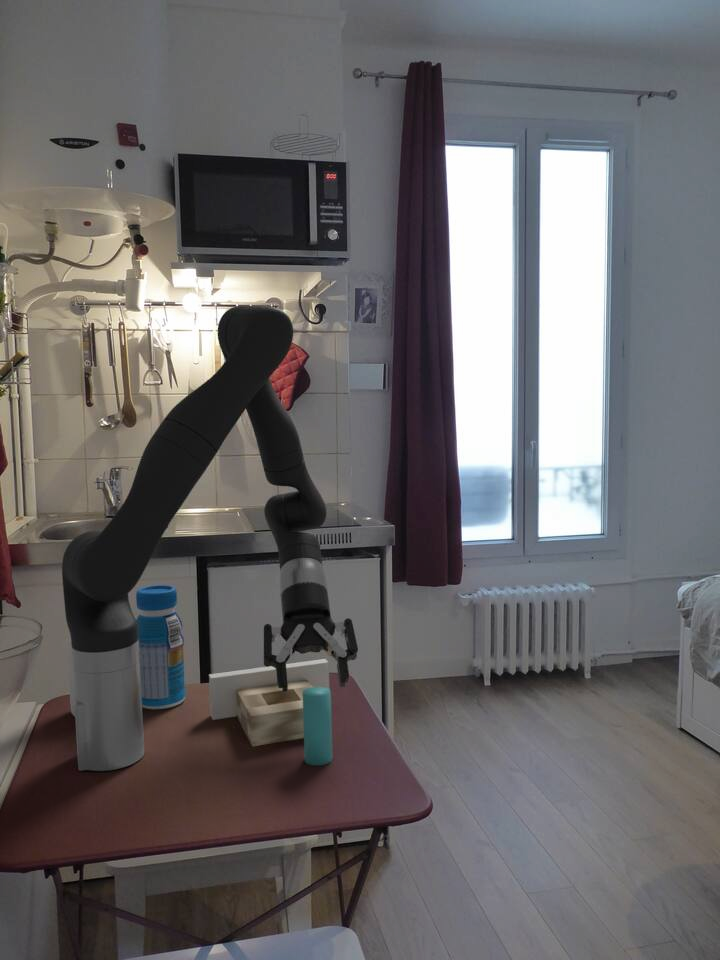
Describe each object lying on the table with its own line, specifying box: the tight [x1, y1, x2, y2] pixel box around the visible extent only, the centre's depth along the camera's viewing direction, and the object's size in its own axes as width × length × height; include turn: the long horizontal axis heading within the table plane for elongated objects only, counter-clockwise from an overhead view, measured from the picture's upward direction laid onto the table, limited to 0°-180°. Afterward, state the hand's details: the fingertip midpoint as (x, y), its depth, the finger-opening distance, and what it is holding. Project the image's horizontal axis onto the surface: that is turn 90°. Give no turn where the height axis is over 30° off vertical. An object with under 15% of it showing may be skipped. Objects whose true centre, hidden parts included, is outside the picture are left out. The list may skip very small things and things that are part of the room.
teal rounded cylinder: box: [302, 687, 333, 766], centre depth 113 cm, size 4×4×10 cm
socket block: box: [236, 680, 313, 747], centre depth 126 cm, size 12×12×5 cm
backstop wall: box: [208, 658, 330, 721], centre depth 133 cm, size 20×2×7 cm, turn 109°
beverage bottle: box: [135, 584, 186, 710], centre depth 136 cm, size 8×8×20 cm
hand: (314, 687), depth 116 cm, fingers open, 8 cm apart
